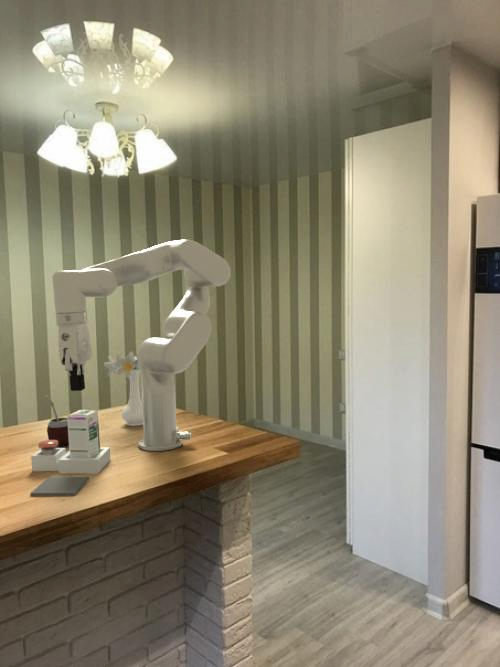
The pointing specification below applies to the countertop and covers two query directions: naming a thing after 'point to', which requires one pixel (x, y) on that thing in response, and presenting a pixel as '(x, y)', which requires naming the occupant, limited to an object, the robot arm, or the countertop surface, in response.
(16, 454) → the countertop surface
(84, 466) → the housing
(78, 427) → the syrup box
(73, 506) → the countertop surface
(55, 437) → the mate gourd
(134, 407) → the flower vase
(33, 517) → the countertop surface
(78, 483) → the mat
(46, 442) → the copper rounded piece
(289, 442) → the countertop surface
